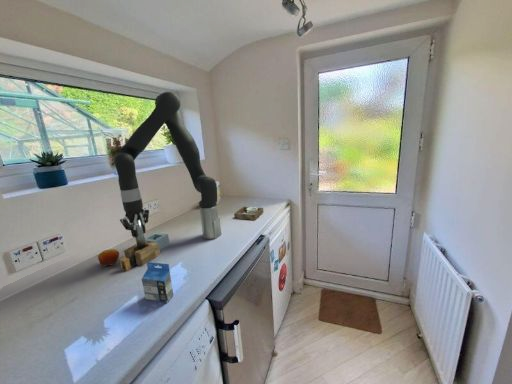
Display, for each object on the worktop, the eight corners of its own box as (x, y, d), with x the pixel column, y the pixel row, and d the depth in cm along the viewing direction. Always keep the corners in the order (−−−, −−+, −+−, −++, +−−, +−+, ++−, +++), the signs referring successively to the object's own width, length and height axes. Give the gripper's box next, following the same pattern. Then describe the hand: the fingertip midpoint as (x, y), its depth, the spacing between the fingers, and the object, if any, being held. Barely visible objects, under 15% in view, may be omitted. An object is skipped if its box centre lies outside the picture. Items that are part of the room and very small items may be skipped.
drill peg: (148, 248, 106) (142, 218, 103) (142, 252, 103) (135, 221, 100) (143, 248, 108) (136, 218, 104) (136, 251, 105) (129, 221, 101)
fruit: (97, 269, 96) (95, 251, 98) (101, 270, 103) (99, 253, 105) (119, 264, 100) (116, 246, 102) (121, 265, 107) (119, 248, 109)
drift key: (142, 260, 104) (140, 251, 103) (126, 270, 97) (124, 260, 95) (137, 259, 105) (135, 250, 104) (121, 269, 98) (119, 259, 97)
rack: (169, 243, 120) (168, 234, 118) (156, 252, 112) (154, 241, 110) (156, 241, 123) (154, 232, 122) (142, 249, 115) (140, 239, 114)
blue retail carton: (144, 300, 78) (138, 268, 75) (152, 292, 82) (146, 261, 79) (167, 303, 76) (162, 270, 73) (174, 295, 80) (169, 263, 77)
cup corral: (263, 212, 159) (263, 207, 158) (255, 220, 146) (255, 215, 145) (243, 211, 165) (243, 206, 164) (234, 218, 151) (234, 213, 150)
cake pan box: (212, 208, 175) (210, 186, 171) (206, 208, 176) (204, 186, 172) (221, 201, 193) (219, 181, 189) (215, 201, 194) (213, 181, 190)
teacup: (252, 211, 163) (251, 205, 162) (262, 214, 156) (262, 207, 155) (242, 215, 156) (241, 209, 155) (252, 218, 149) (252, 212, 148)
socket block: (159, 254, 109) (157, 243, 107) (142, 265, 100) (140, 253, 98) (144, 251, 113) (142, 240, 111) (126, 262, 104) (123, 250, 102)
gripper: (123, 204, 92) (132, 243, 96) (150, 194, 104) (157, 229, 109) (110, 203, 94) (119, 241, 99) (138, 194, 107) (145, 228, 111)
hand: (139, 234), depth 104 cm, fingers closed on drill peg, 3 cm apart
